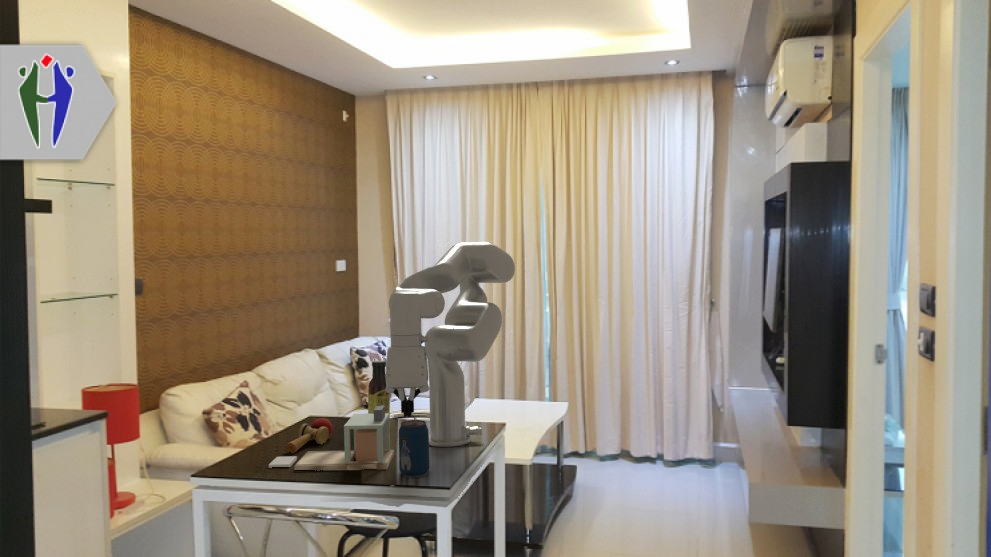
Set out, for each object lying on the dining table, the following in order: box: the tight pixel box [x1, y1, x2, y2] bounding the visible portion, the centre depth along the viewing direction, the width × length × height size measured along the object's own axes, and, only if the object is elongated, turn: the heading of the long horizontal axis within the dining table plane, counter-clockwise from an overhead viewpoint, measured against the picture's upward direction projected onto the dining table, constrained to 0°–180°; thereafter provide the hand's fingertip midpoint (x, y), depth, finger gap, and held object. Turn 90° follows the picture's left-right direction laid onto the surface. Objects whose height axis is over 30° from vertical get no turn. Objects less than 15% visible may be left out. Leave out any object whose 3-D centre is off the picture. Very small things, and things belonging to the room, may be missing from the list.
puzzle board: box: [293, 449, 395, 472], centre depth 185 cm, size 22×13×1 cm, turn 90°
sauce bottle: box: [367, 360, 391, 424], centre depth 219 cm, size 7×6×20 cm
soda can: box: [398, 419, 430, 478], centre depth 174 cm, size 7×7×12 cm
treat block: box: [355, 429, 378, 461], centre depth 185 cm, size 5×5×8 cm
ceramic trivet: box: [268, 455, 298, 469], centre depth 185 cm, size 5×7×1 cm
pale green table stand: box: [343, 406, 391, 463], centre depth 185 cm, size 9×13×12 cm
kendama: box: [285, 417, 333, 454], centre depth 203 cm, size 8×6×18 cm
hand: (407, 415), depth 184 cm, fingers closed
